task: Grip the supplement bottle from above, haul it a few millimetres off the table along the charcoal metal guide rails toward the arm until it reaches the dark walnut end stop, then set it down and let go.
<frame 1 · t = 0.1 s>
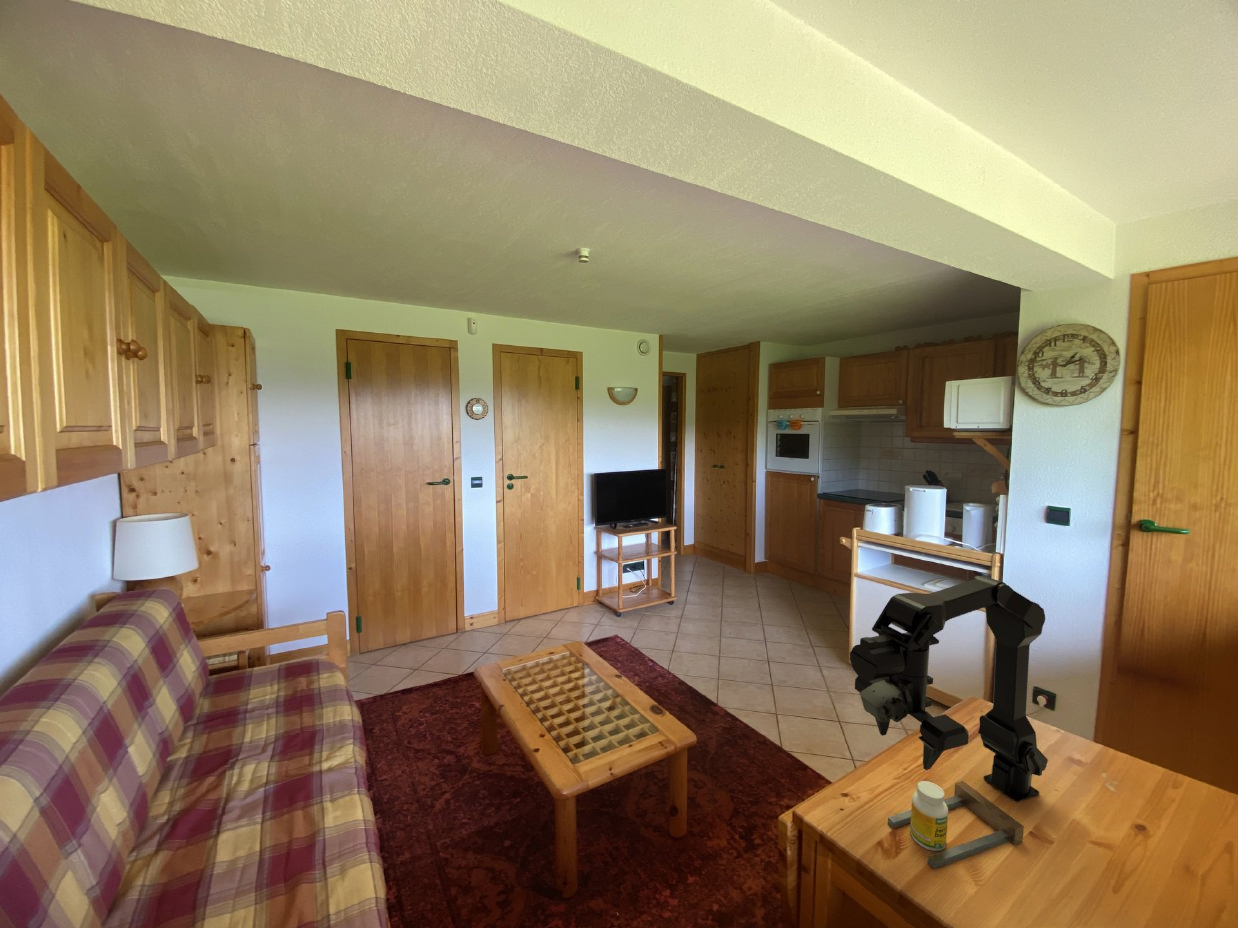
hand: (903, 750, 87), 14 cm above the table, tool pointing down, fingers open, 9 cm apart
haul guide: (949, 831, 87), on the table
supplement bottle: (927, 839, 86), on the table
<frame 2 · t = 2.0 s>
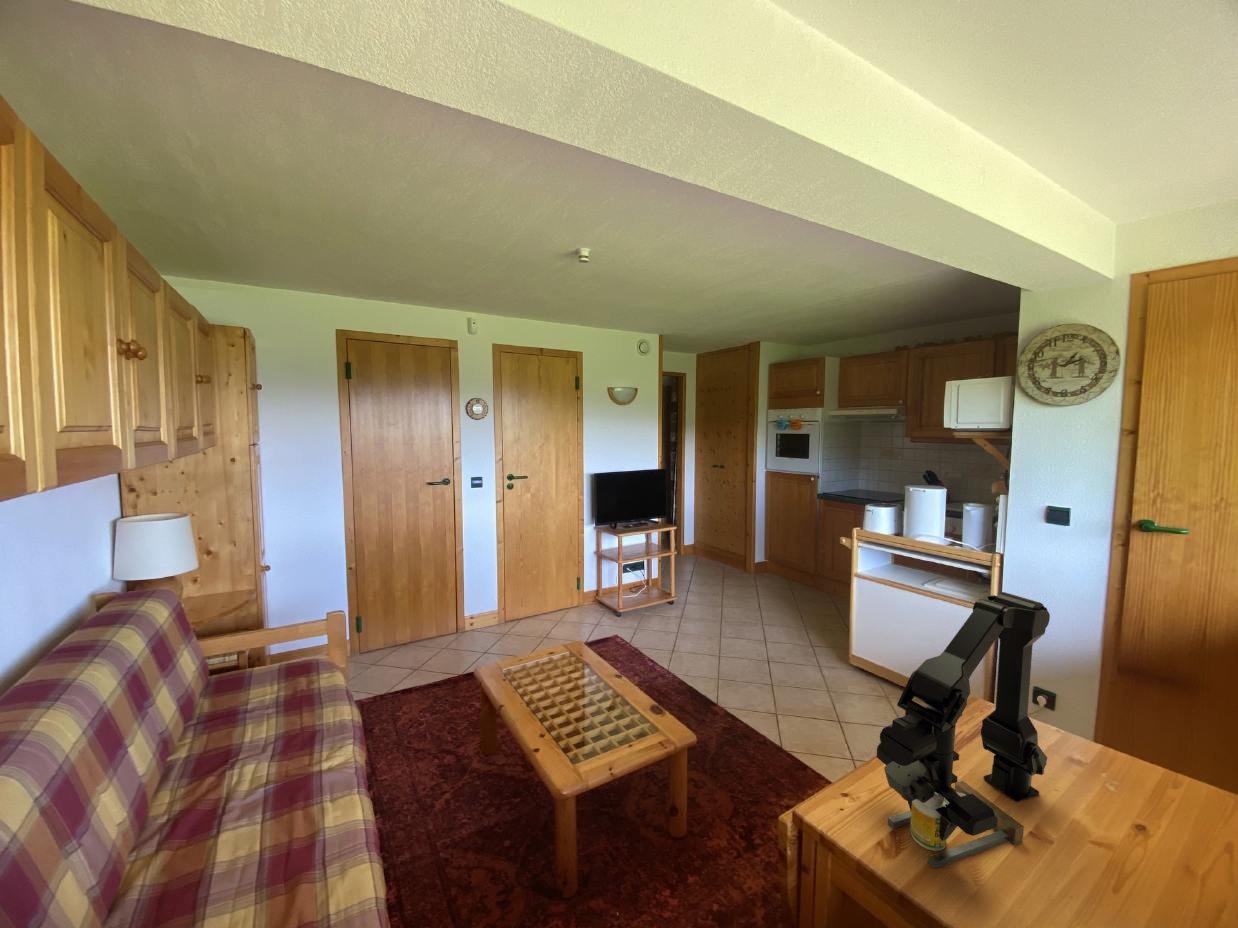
hand: (928, 825, 86), 3 cm above the table, tool pointing down, fingers closed on supplement bottle, 5 cm apart
supplement bottle: (927, 839, 86), on the table, touching gripper
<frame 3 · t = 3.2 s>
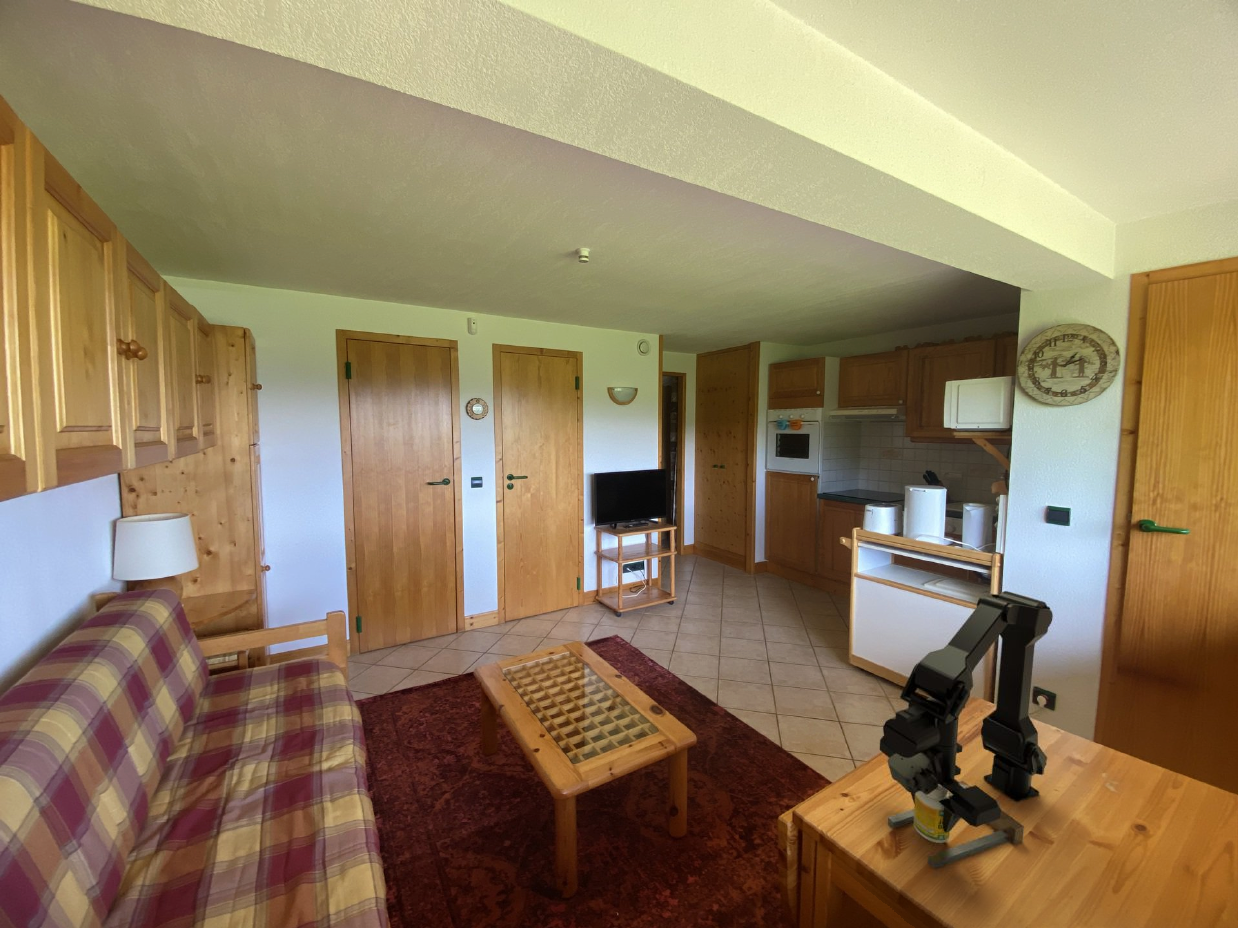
hand: (931, 817, 86), 4 cm above the table, tool pointing down, fingers closed on supplement bottle, 5 cm apart
supplement bottle: (930, 831, 86), point 1 cm above the table, touching gripper
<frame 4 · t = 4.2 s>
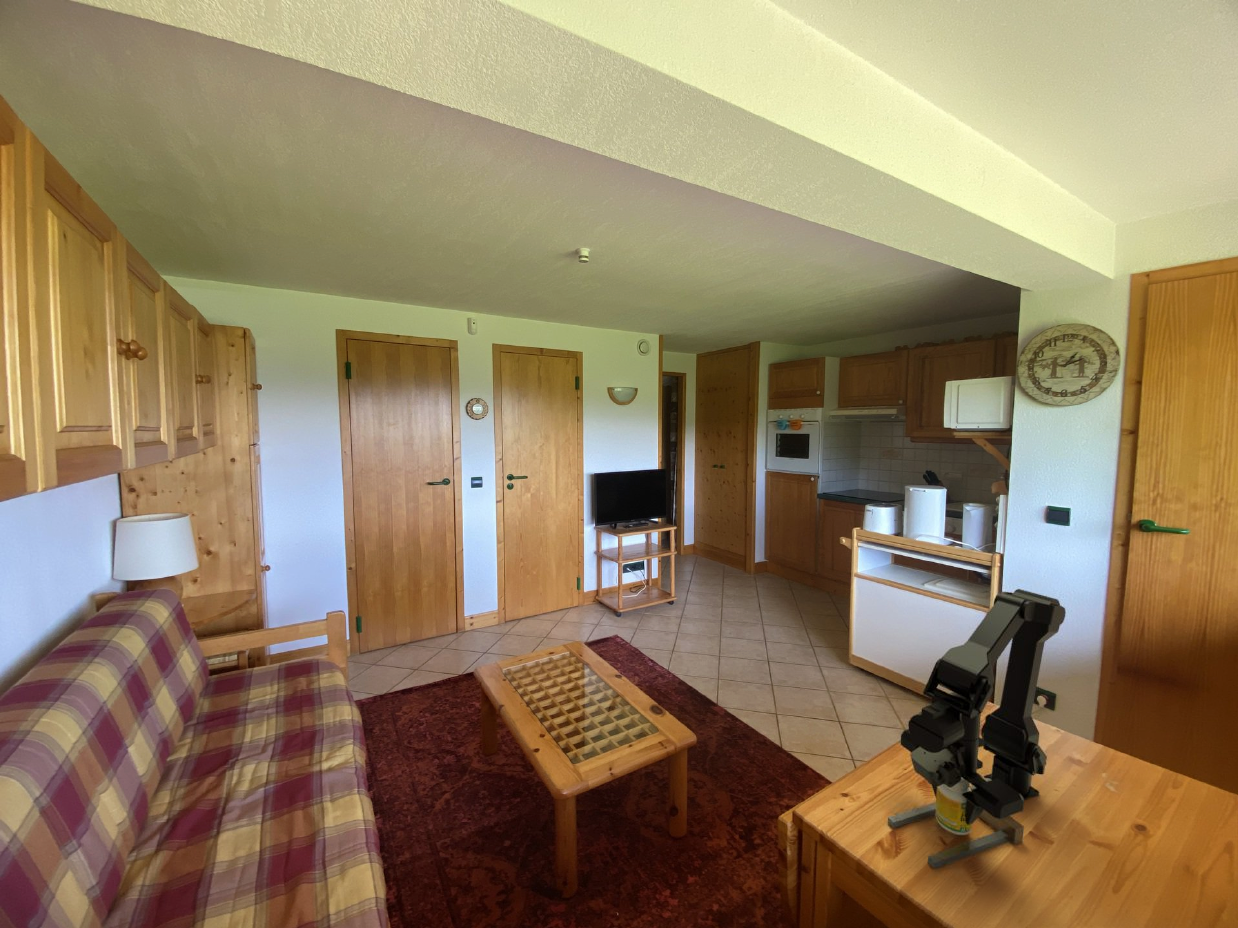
hand: (953, 810, 87), 4 cm above the table, tool pointing down, fingers closed on supplement bottle, 5 cm apart
supplement bottle: (952, 824, 88), point 1 cm above the table, touching gripper
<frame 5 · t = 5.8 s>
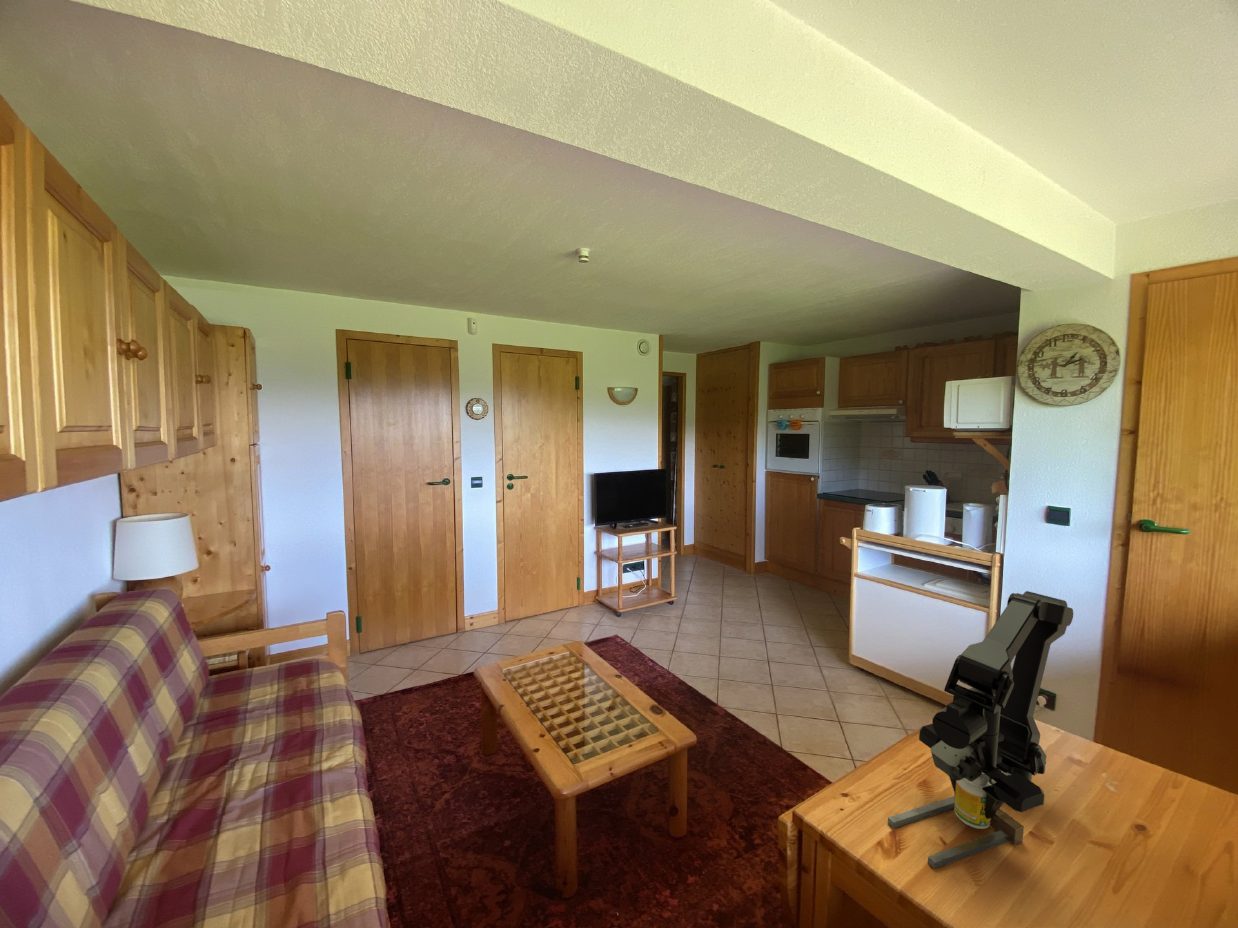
hand: (972, 804, 88), 4 cm above the table, tool pointing down, fingers closed on supplement bottle, 5 cm apart
supplement bottle: (971, 818, 89), point 1 cm above the table, touching gripper
when the fingers open (3 cm above the table, at t = 6.8 s): supplement bottle stays where it is, on the table.
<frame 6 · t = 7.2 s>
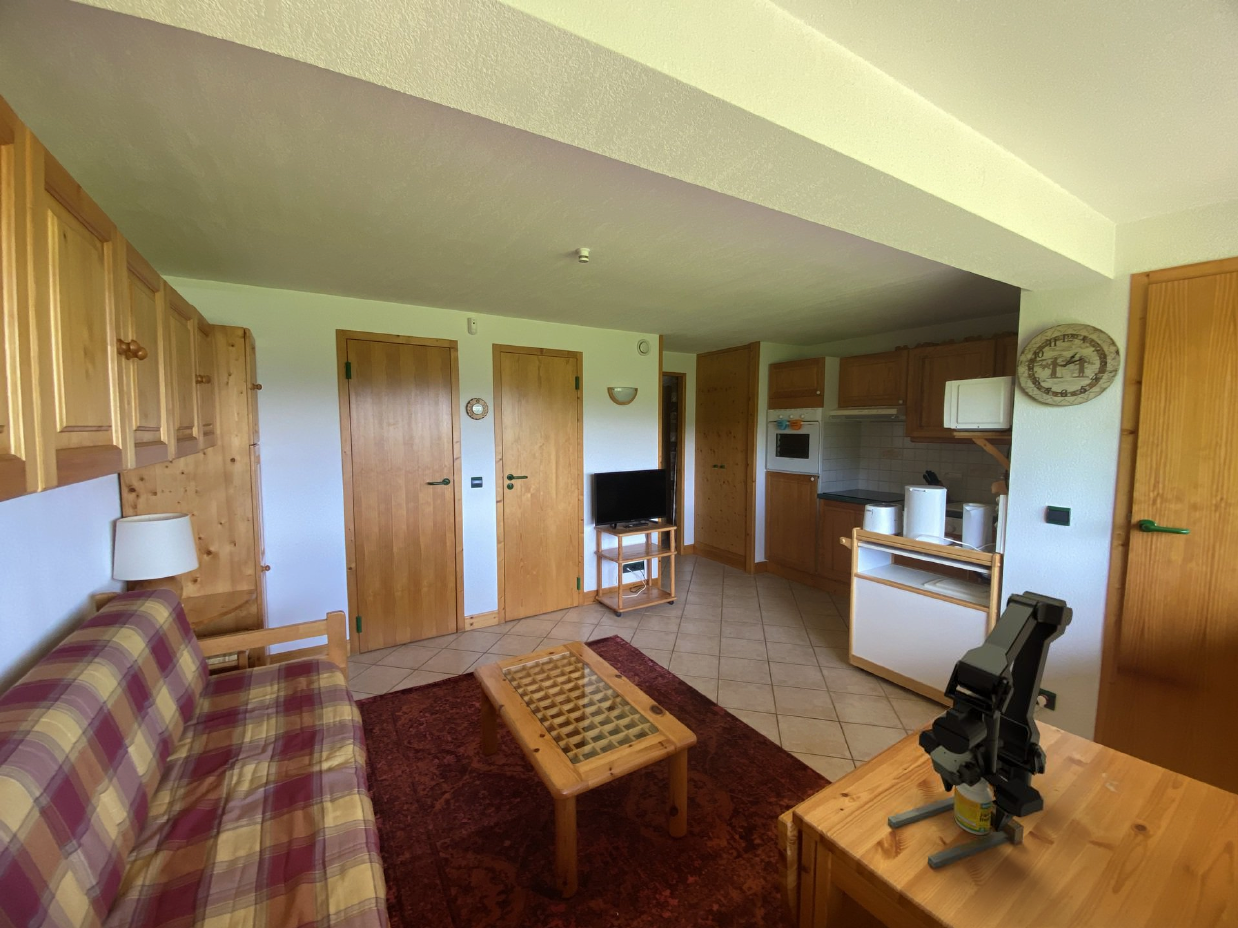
hand: (972, 809, 89), 3 cm above the table, tool pointing down, fingers open, 9 cm apart
supplement bottle: (971, 824, 89), on the table
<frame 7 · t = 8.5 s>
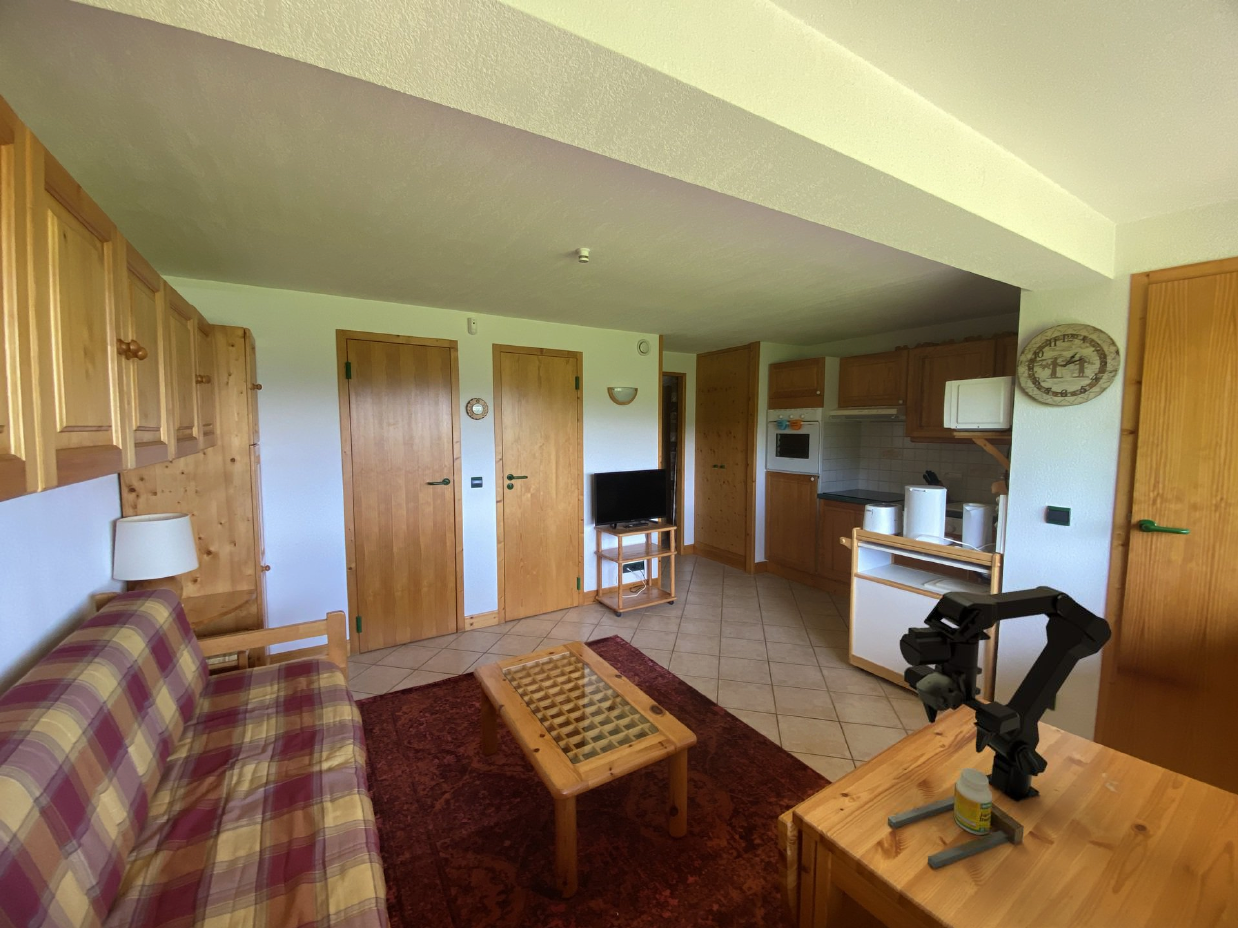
hand: (954, 736, 95), 12 cm above the table, tool pointing down, fingers open, 9 cm apart
nothing on the table moved.
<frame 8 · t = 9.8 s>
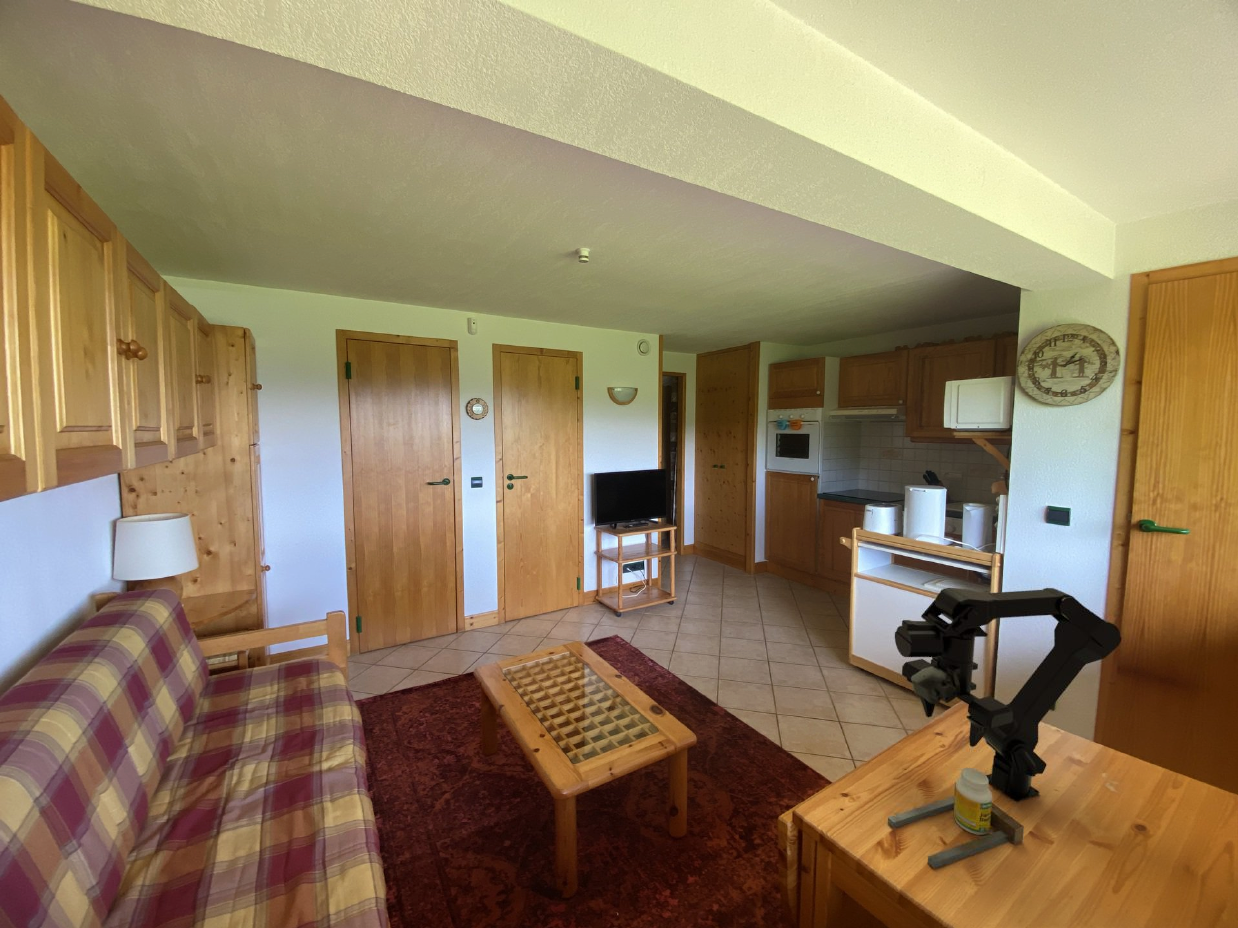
hand: (949, 730, 96), 12 cm above the table, tool pointing down, fingers open, 9 cm apart
nothing on the table moved.
at the end: supplement bottle 0.4 cm from the target spot, on the table; supplement bottle tilted 0°; the gripper is holding nothing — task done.
